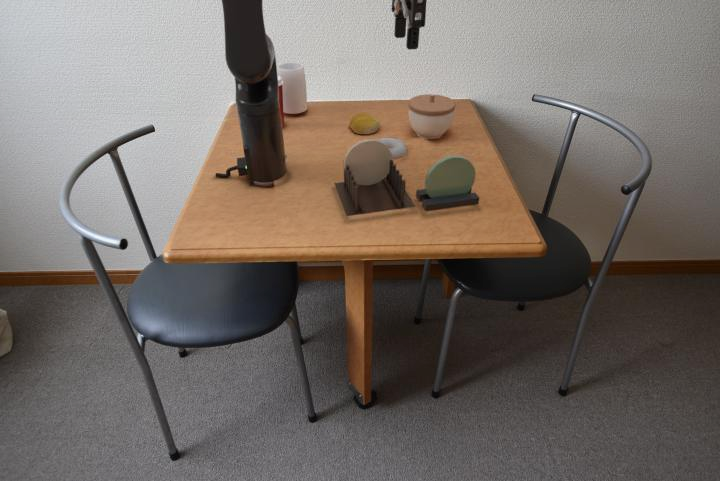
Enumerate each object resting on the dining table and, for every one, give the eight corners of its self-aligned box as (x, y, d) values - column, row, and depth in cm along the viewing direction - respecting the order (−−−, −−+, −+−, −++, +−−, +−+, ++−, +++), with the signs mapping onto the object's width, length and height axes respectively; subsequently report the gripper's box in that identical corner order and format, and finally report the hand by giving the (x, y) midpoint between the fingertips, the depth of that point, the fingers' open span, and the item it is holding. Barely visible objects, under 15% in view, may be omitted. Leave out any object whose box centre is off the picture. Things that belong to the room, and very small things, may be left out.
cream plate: (345, 188, 107) (343, 143, 101) (344, 186, 108) (342, 141, 101) (392, 182, 109) (393, 138, 102) (390, 180, 110) (392, 136, 103)
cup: (292, 120, 142) (288, 72, 133) (275, 113, 147) (269, 66, 138) (314, 112, 147) (310, 65, 138) (296, 105, 152) (292, 59, 143)
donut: (365, 163, 120) (404, 166, 118) (364, 151, 118) (404, 153, 116) (372, 146, 128) (409, 148, 126) (372, 134, 126) (409, 136, 124)
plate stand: (424, 216, 100) (426, 204, 99) (415, 201, 105) (416, 190, 103) (477, 209, 102) (479, 197, 101) (466, 194, 107) (467, 183, 106)
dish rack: (346, 222, 99) (345, 191, 95) (334, 188, 110) (332, 159, 106) (415, 212, 102) (417, 182, 97) (396, 180, 113) (397, 152, 108)
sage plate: (423, 205, 102) (429, 159, 95) (421, 203, 103) (427, 157, 96) (470, 201, 104) (479, 155, 98) (468, 198, 105) (477, 153, 98)
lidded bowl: (410, 144, 128) (412, 104, 122) (403, 125, 138) (405, 88, 132) (456, 142, 129) (461, 103, 122) (446, 124, 139) (450, 86, 132)
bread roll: (356, 137, 132) (356, 123, 130) (346, 125, 139) (345, 112, 136) (384, 132, 134) (384, 119, 132) (372, 121, 141) (372, 108, 139)
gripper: (381, -56, 90) (378, 35, 100) (402, -47, 79) (397, 54, 89) (419, -56, 92) (412, 33, 101) (445, -48, 81) (435, 51, 90)
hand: (405, 43), depth 95 cm, fingers open, 8 cm apart
